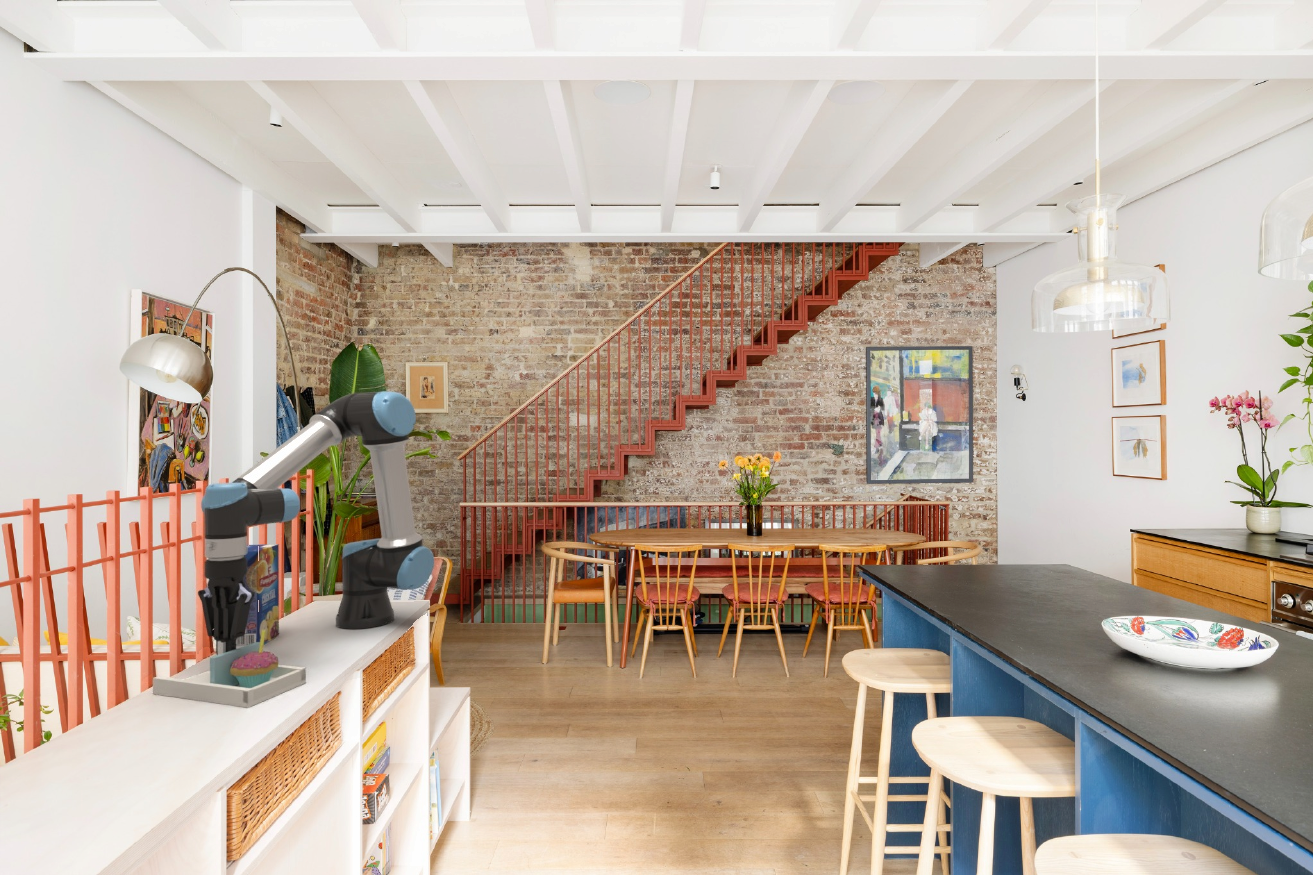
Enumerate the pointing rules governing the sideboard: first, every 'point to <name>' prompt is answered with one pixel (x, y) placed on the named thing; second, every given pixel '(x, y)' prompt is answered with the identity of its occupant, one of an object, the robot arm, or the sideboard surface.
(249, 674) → the cupcake
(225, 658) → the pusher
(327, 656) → the sideboard surface
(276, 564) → the juice carton
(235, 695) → the white shallow tray
